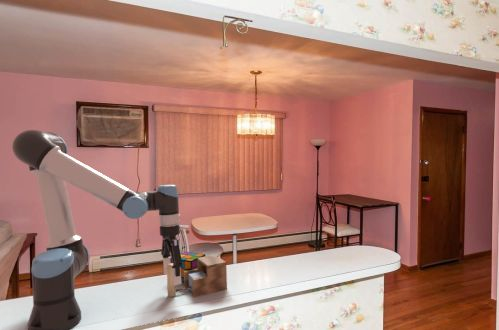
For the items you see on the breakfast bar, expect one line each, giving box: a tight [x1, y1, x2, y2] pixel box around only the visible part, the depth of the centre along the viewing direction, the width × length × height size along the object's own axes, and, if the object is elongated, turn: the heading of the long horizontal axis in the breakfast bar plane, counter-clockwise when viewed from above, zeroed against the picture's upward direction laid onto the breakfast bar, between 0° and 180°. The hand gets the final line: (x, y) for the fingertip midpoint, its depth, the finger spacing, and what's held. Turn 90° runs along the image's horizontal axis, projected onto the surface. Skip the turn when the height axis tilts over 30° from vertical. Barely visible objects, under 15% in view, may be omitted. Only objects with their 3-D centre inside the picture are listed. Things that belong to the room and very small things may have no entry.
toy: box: [170, 251, 206, 284], centre depth 146 cm, size 11×10×10 cm
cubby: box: [183, 254, 228, 298], centre depth 134 cm, size 14×12×11 cm
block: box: [166, 262, 207, 298], centre depth 130 cm, size 16×6×12 cm, turn 120°
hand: (172, 278), depth 127 cm, fingers open, 13 cm apart
